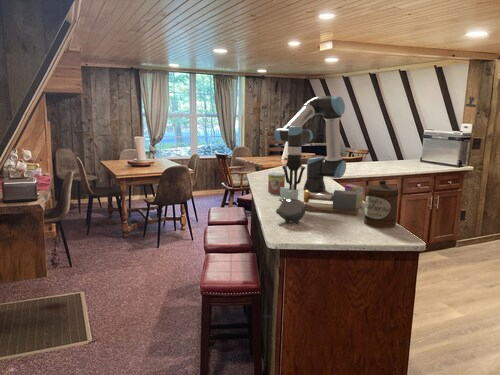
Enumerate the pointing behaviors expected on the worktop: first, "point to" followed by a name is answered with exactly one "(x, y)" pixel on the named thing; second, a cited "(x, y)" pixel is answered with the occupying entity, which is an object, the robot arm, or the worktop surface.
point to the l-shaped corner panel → (287, 194)
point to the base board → (328, 208)
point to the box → (359, 193)
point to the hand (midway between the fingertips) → (292, 195)
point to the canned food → (275, 182)
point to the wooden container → (381, 205)
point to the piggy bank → (291, 210)
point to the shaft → (316, 196)
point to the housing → (344, 200)
